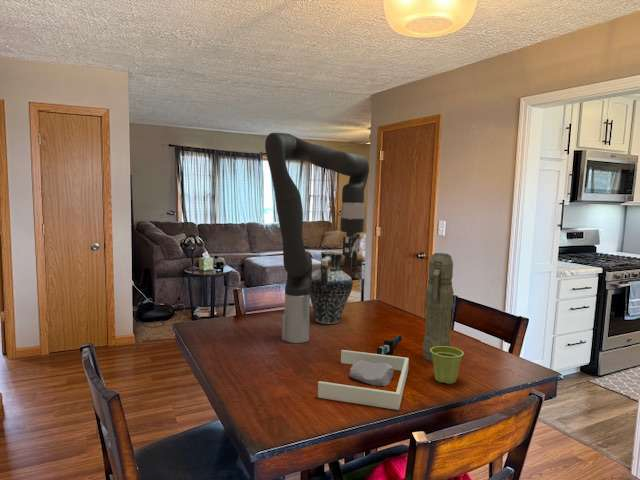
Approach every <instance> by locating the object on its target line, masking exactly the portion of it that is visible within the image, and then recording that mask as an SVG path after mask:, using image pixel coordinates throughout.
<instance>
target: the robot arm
mask: <svg viewBox="0 0 640 480" xmlns="http://www.w3.org/2000/svg"><path fill="white" fill-rule="evenodd" d="M264 148H265V155H266V159H267V162H268V167H269V171H270V175H271V180H272V185H273V186H272V187H273V191H274V193H273V194H274V198H275V209H276V213H277V218H278V224H279V229H280V233H281V239H282V256H283V257H282V258H283V259H282V260H283V268H284V270H285V271H286V273H287V274H286V278H287V279H286V283H285V285H284V313H283V314H282V319H281V320H282V322H281V323H282V324H281V325H282V326H281V327H282V329H281V340H282V341H285V342H287V343H293V344H302V343H305V342H308V341H309V340H310V319H311V318H310V313H311V312H310V311H311V309H310V308H311V298H310V288H311V280H312V272H313V259H312V256H311V254H310V252H308V251H307V250H306V249H305V245H304V239H303V226H304V211H303V210H304V209H303V202H302V196H301V193H300V190H299V189H298V187H297V185H296V183H295V182H294V181H293V179H292V177H291V176H290V173H289V170H288V168H287V163H286V162H287V161H286V160H290V159H291V160H292V159H293V160H295V159H296V160H303V161H307V162H309V163H310V164H312V165H313V166H316V167H318V168H322V169H325V170H328V171H329V170H330V171H333V172H336V173H337V174H341V175H343V176H346V177H349V178H348V179H349V180H348V182H347V184H344V185H343V186H342V189H341V207H340V226H339V229H340V232H342V233H346V235H345V236H343V237H342V252H341V253H342V257H344V267H343V268H344V269H345V270H351V269H352V268H353V267H352V266H354V267H355V266H357V265H358V264H357V263H358V254H359V252H360V236H361V235H360V234H359V233H363V232H364V229H365V227H364V226H365V188H366V186H367V185H366V184H367V181H368V177H369V174H370V163H369V161H368V159H367V157H366V156H364V155H363V154H356V153H351V152H346V151H341V150H339V149H337V148H333V147H329V146H324V145H321V144H320V145H319V144H315V143H311V142H308V141H306V140H304V139H302V138H299V137H298V136H295V135H293V134H291V133H287V132H271V133H269V134H268V135H267V137H266V139H265V141H264Z"/></svg>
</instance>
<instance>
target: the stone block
mask: <svg viewBox="0 0 640 480" xmlns="http://www.w3.org/2000/svg"><path fill="white" fill-rule="evenodd" d="M394 371H395V370H394V369H393V367H392V366H391V365H389V364H388V363H380V362H379V363H371V362H367V361H366V360H360V361H359V362H356V363H355V364H354V365H352V366H351V367H350V370H349V377H350V378H352V379H355V380H356V381H359V382H362V383H365V384H367V385H371V386H378V387H386V386H387V385H389V384H390V382H391V381H392V379H393V377H394V373H395V372H394Z"/></svg>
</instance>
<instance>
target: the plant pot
mask: <svg viewBox="0 0 640 480" xmlns="http://www.w3.org/2000/svg"><path fill="white" fill-rule="evenodd" d="M430 352H431V353H432V357H433V362H432V365H433V372H434V373H433V374H434V380H435V381H437V382H438V383H441V384H443V383H445V384H446V385H449V384H455V383H456V382H457V380H458V374H459V369H460V363H461V360H462V358H463V356H465V355H464V354H465V353H464V351H463V350H461V349H459V348H457V347H453V346H451V347H448V346H436V347H432V348H431V349H430Z"/></svg>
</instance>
